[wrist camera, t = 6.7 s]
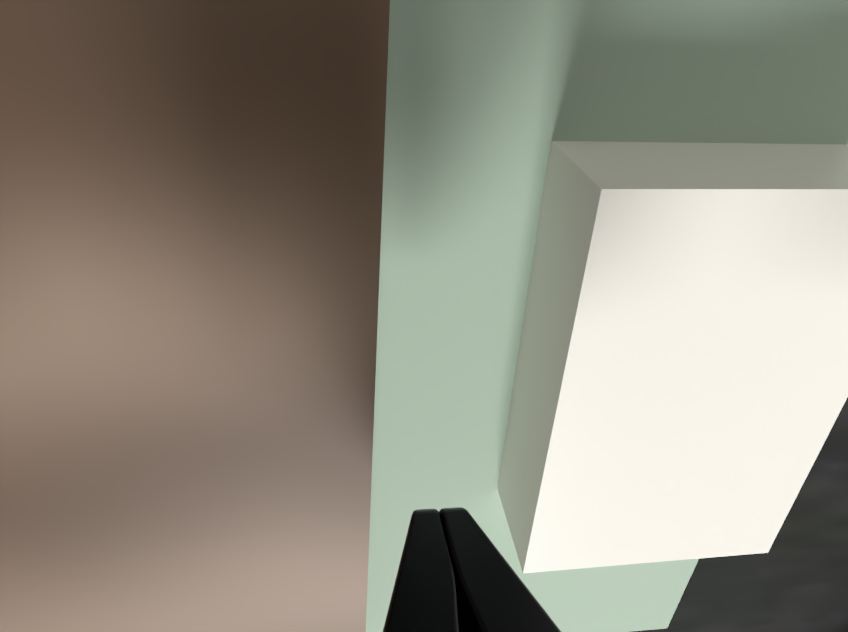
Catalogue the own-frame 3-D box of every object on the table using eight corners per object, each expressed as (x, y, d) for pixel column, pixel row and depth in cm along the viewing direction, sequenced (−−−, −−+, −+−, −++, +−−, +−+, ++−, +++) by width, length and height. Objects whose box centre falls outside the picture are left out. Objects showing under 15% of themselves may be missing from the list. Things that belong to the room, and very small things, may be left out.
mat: (661, 616, 21) (666, 628, 21) (363, 641, 20) (364, 654, 19) (1043, -242, 10) (1069, -248, 9) (399, -337, 8) (402, -348, 8)
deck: (354, 623, 19) (360, 773, 16) (-83, 658, 17) (-183, 835, 14) (373, -239, 9) (403, -344, 5) (-715, -373, 7) (-1711, -661, 4)
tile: (522, 573, 14) (497, 489, 16) (767, 552, 15) (713, 475, 17) (601, 188, 9) (551, 141, 11) (954, 189, 10) (846, 144, 12)
